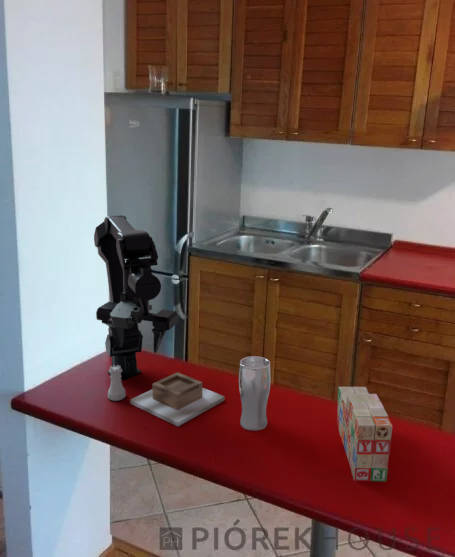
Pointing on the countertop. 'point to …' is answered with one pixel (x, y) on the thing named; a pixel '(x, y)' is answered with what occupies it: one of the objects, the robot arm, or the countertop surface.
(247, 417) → the beer glass
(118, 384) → the rook chess piece
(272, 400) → the countertop surface
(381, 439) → the stack of blocks
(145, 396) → the board
